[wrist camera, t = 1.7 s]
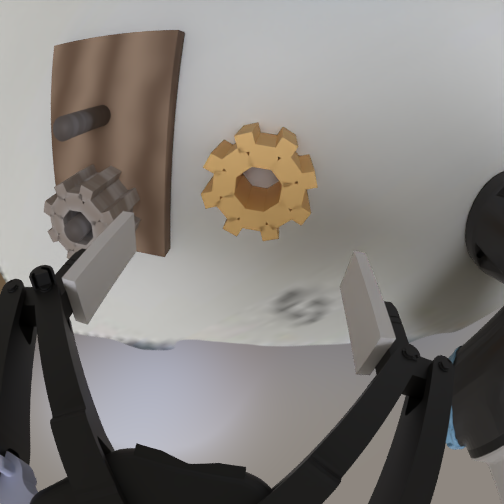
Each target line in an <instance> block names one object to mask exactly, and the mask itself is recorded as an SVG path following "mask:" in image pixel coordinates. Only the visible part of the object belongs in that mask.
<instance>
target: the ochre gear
mask: <svg viewBox="0 0 504 504" xmlns="http://www.w3.org/2000/svg"><path fill="white" fill-rule="evenodd" d="M234 137H235V141H236V143H235V144H234V145H233V144H231V143H229V142H227V141H226V140H223V141H222V142H221V144H220V145H219V146H218V147H217V148H216V149H215V150H214V151H213V152H212V153H211V154H210V156H209V158H208V159H207V161H206V163H205V165H204V167H203V168H205V169H206V170H208V171H210V172H212V173H214V176H213V177H212V179H211V180H210V181H209V183H208V184H207V186H206V187H205V189H204V190H203V191H202V193H201V196H202V199H203V202H204V205H205V208H206V209H207V208H211V207H216V206H217V207H218V208H219V210H220V211H221V212H222V213H223V214H224V216H225V217H226V218H227V219H226V222H225V225H224V227H223V229H224V230H226V231H228V232H230V233H231V234H233V235H235V236H237V235H238V234H239V232H240V231H241V229H242V228H245V229H250V230H256V231H260V232H261V236H262V240H263V241H267V240H273V239H279V227H280V226H281V225H283V224H285V223H287V222H288V221H290V220H293V221H295V222H296V223H298V224H300V225H302V224H303V223H304V222H305V220H306V219H307V218H308V216H309V215H310V214H311V211H310V205H309V200H308V194H307V190H306V189H312V188H318V187H317V182H316V176H315V171H314V168H313V165H312V162H311V158H310V155H303V156H298V154H297V153H296V149H297V148H298V144H297V139H296V135H295V134H294V133H292V132H291V131H289V130H287V129H286V128H284V127H282V129H281V130H280V132H279V133H278V135H273V134H267V133H261V132H260V128H259V124H258V123H253V124H249V125H245V126H243V127H242V128H241V129H240V130H239V131H238V132H237V134H236V135H235V136H234ZM251 167H256V168H262V169H268V170H272V172H273V173H274V174H275V176H276V177H277V179H278V180H279V182H277V183H275V184H274V185H272V186H271V187H269V188H268V189H266V188H261V187H255V186H252V185H251V184H250V183H249V181H248V180H247V179H246V177H245V176H244V175H243V172H245V171H246V170H248V169H249V168H251Z"/></svg>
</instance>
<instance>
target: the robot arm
mask: <svg viewBox="0 0 504 504" xmlns="http://www.w3.org/2000/svg"><path fill="white" fill-rule="evenodd" d="M466 246H467V249H468V252H469V254H470V256H471V258H472V259H473V260H474V262H475V263H476V264H477V266H478V267H479V268H480V269H481V270H482V271H483V272H485V273H487V274H488V275H490V276H492V277H493V278H495V279H497V280H499V281H500V282H502V283H504V172H502V173H500V174H498V175H497V176H495V177H494V178H493V179H491V180H490V181H489V182H488V183H487V184H486V185H485V186H484V188H483V189H482V190H481V192H480V193H479V195H478V196H477V198H476V200H475V202H474V204H473V206H472V208H471V211H470V214H469V217H468V221H467V226H466ZM136 251H137V250H136V237H135V222H134V213H132V212H125V211H123V212H122V213H121V214H120V215H119V216H118V217H117V218H116V219H115V220H114V221H113V222H112V223H111V224H110V225H109V226H108V227H107V228H106V229H105V230H104V231H103V232H102V233H101V234H100V235H99V236H98V237H97V239H96V240H95V241H94V242H93V243H92V244H91V245H90V246H89V247H88V248H87V249H83V248H82V249H80V250H79V251H77V252H75V253H74V254H73V255H72V256H71V257H70V258H69V260H68V261H67V262H66V263H65V264H64V265H63V266H62V267H61V269H60V270H59V271H58V272H57V273H56V274H54V271H53V268H52V267H51V266H48V265H42V266H39V267H36V268H35V269H34V270H32V272H31V273H30V276H29V278H30V281H31V284H32V286H33V287H24V284H23V282H22V281H21V280H19V279H13V280H10V281H8V282H7V283H6V284H5V285H4V287H3V289H2V291H1V294H0V503H1V504H322V503H323V502H324V501H325V500H326V499H327V498H328V497H329V496H330V495H331V493H332V492H333V491H334V490H335V489H336V488H337V486H338V485H339V484H340V482H341V478H342V477H343V475H344V474H345V473H346V472H347V470H348V469H349V468H350V467H351V466H352V464H353V463H354V462H355V461H356V459H357V458H358V457H359V455H360V454H361V453H362V452H363V450H364V449H365V448H366V446H367V445H368V444H369V442H370V441H371V439H372V438H373V437H374V435H375V434H376V432H377V431H378V429H379V428H380V427H381V425H382V424H383V422H384V421H385V419H386V418H387V416H388V415H389V413H390V411H391V410H392V408H393V407H394V405H395V404H396V402H397V400H398V399H399V397H400V395H401V394H403V395H406V397H405V401H404V405H403V408H402V412H401V416H400V419H399V422H398V426H397V429H396V432H395V436H394V439H393V442H392V445H391V448H390V450H389V453H388V456H387V459H386V462H385V464H384V467H383V470H382V472H381V475H380V477H379V480H378V482H377V485H376V487H375V489H374V492H373V494H372V496H371V499H370V501H369V503H368V504H430V503H431V499H432V496H433V493H434V490H435V486H436V483H437V479H438V475H439V471H440V467H441V462H442V458H443V454H444V449H445V444H446V443H447V446H448V447H450V448H451V449H455V450H456V449H463V448H464V447H467V449H468V452H469V454H470V456H471V459H472V460H474V461H482V462H486V463H487V464H488V466H489V469H490V472H491V474H492V477H493V480H494V482H495V484H496V488H497V491H498V494H499V497H500V500H501V503H502V504H504V306H503V307H502V308H501V309H500V310H499V311H498V313H496V314H495V316H494V317H493V318H491V319H490V320H489V322H487V324H485V325H484V326H483V327H482V328H481V329H480V330H479V331H478V332H477V333H476V334H475V335H474V336H473V337H472V338H471V339H470V340H468V341H467V342H466V343H465V344H464V345H463V346H460V347H458V348H457V349H456V350H455V351H454V353H453V354H452V355H451V356H450V357H449V358H447V357H445V356H442V355H441V356H437V357H436V358H435V359H434V360H433V361H431V360H428V359H425V358H423V357H420V353H419V351H418V350H417V349H416V348H415V347H414V346H413V345H411V344H409V343H408V340H407V337H406V334H405V331H404V328H403V325H402V324H401V323H402V322H401V319H400V318H399V314H398V311H397V309H396V308H395V306H394V305H393V304H392V303H391V302H385V301H384V300H383V297H382V295H381V292H380V289H379V286H378V283H377V281H376V278H375V275H374V273H373V270H372V267H371V265H370V262H369V260H368V257H367V255H366V253H364V252H359V251H354V252H353V255H352V258H351V260H350V263H349V265H348V268H347V270H346V273H345V275H344V278H343V280H342V283H341V285H340V290H341V294H342V299H343V304H344V309H345V314H346V319H347V324H348V330H349V335H350V341H351V346H352V352H353V359H354V365H355V371H356V374H359V375H370V374H371V373H372V371H373V370H374V369H376V374H377V375H376V376H375V378H374V379H373V380H372V381H371V383H370V384H369V385H368V386H367V388H366V389H365V391H364V392H363V393H362V395H361V396H360V397H359V398H358V400H357V401H356V402H355V404H354V405H353V406H352V407H351V408H350V409H349V411H348V412H347V413H346V414H345V415H344V417H343V418H342V419H341V420H340V421H339V423H338V424H337V425H336V426H335V427H334V428H333V429H332V430H331V431H330V433H329V434H328V435H327V436H326V437H325V438H324V439H323V440H322V441H321V442H320V443H319V444H318V446H317V447H316V448H315V449H314V450H313V451H312V452H311V453H310V454H309V455H308V456H307V457H306V458H305V459H304V460H303V461H302V462H301V463H300V464H299V465H298V466H297V467H296V468H294V469H293V470H292V471H291V472H290V473H289V474H288V475H287V476H286V477H285V478H283V479H282V480H281V481H280V482H279V483H278V484H277V485H275V486H274V487H273V488H272V489H271V488H270V487H269V486H268V485H267V484H266V483H265V482H264V481H262V480H261V479H259V478H258V477H256V476H254V475H252V474H250V473H247V472H246V467H242V466H234V465H227V464H221V463H212V464H211V463H210V464H188V463H185V462H183V461H181V460H179V459H177V458H175V457H173V456H171V455H169V454H167V453H165V452H163V451H161V450H157V449H153V448H150V447H147V446H143V445H140V444H136V448H129V449H128V448H127V449H120V450H116V451H114V449H113V447H112V445H111V443H110V441H109V440H108V438H107V436H106V434H105V431H104V429H103V426H102V424H101V421H100V419H99V416H98V413H97V411H96V408H95V405H94V403H93V400H92V397H91V394H90V391H89V388H88V385H87V381H86V378H85V375H84V372H83V368H82V365H81V361H80V358H79V354H78V350H77V346H76V342H75V338H74V334H73V330H72V325H71V321H70V319H69V317H70V316H71V314H72V313H73V314H74V317H75V320H76V321H79V322H82V323H85V324H88V323H89V322H90V320H91V319H92V317H93V315H94V314H95V312H96V311H97V309H98V307H99V306H100V304H101V303H102V301H103V300H104V298H105V297H106V295H107V294H108V292H109V290H110V289H111V287H112V286H113V284H114V283H115V281H116V280H117V279H118V277H119V276H120V274H121V273H122V271H123V270H124V268H125V267H126V265H127V264H128V263H129V261H130V260H131V258H132V257H133V255H134V254H135V253H136ZM37 335H38V343H39V351H40V357H41V364H42V370H43V375H44V380H45V385H46V390H47V395H48V399H49V403H50V407H51V411H52V416H53V418H52V419H51V420H50V424H51V429H52V432H53V435H54V439H55V442H56V445H57V449H58V452H59V455H60V457H61V460H62V463H63V466H64V469H65V471H66V474H67V477H66V478H65V479H63V480H61V481H59V482H57V483H55V484H53V485H51V486H49V487H47V488H45V489H43V490H41V491H39V492H38V491H37V489H36V483H37V481H36V478H35V476H34V473H33V470H32V469H31V467H30V466H29V463H30V396H31V395H30V394H31V380H32V368H33V359H34V350H35V343H36V336H37Z"/></svg>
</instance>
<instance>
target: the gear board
mask: <svg viewBox="0 0 504 504" xmlns="http://www.w3.org/2000/svg"><path fill="white" fill-rule="evenodd" d="M184 35H185V33H184V32H182V31H180V30H162V31H145V32H133V33H123V34H115V35H108V36H101V37H95V38H89V39H83V40H78V41H73V42H69V43H64V44H60V45H56V46H54V55H53V67H52V84H51V133H52V151H53V164H54V174H55V183H56V186H55V187H54V188H55V191H56V194H55V195H53V196H52V197H50V198H49V199H47V200H46V201H45V206H44V212H45V213H46V214H48V215H49V216H50V217H51V223H52V228H51V229H50V230H49V231H48V233H49V235H50V237H51V239H52V241H53V242H56V241H59V242H60V243H61V244H62V245H63V246H64V247H65V249H66V250H67V251H68V254H67V258H68V259H69V258H70V257H71V256H72V255H73V254H74V253H75V252H77V251H79V250H80V249H82V248H83V249H87V248H88V247H89V246H90V245H91V244H92V243H93V242H94V241H95V240H96V239H97V237H98V236H99V235H100V234H101V233H102V232H103V231H104V230H105V229H106V228H107V227H108V226H109V225H110V224H111V223H112V222H113V221H114V220H115V219H116V218H117V217H118V216H119V215H120V214H121V213H122V212H123V211H125V212H132V213H134V222H135V237H136V250H137V252H142V253H147V254H152V255H157V256H162V257H165V256H166V254H167V253H168V251H169V249H170V195H171V168H172V149H173V134H174V121H175V109H176V99H177V89H178V80H179V71H180V63H181V56H182V49H183V42H184Z"/></svg>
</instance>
